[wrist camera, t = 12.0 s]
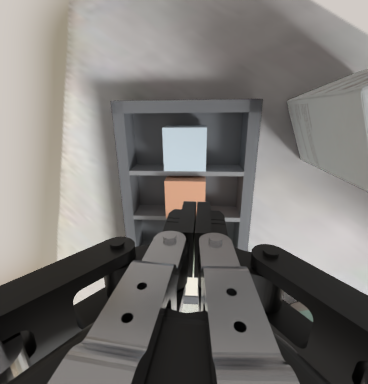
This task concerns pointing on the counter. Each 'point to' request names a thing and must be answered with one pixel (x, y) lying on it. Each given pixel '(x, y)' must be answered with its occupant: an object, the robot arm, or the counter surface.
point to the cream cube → (192, 286)
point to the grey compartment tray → (215, 171)
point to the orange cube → (183, 191)
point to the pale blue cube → (184, 147)
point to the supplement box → (334, 128)
